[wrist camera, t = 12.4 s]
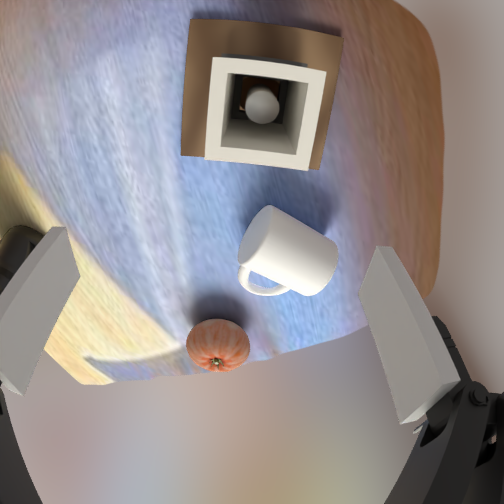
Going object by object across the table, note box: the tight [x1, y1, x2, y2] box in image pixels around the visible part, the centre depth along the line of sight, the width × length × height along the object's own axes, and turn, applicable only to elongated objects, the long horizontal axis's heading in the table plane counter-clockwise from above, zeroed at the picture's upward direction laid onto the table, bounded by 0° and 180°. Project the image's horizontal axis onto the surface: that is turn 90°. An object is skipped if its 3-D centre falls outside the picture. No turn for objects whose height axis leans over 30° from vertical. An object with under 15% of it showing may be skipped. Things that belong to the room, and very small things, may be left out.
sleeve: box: [204, 57, 326, 171], centre depth 21 cm, size 7×7×10 cm
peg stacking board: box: [181, 19, 344, 170], centre depth 24 cm, size 16×16×12 cm
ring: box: [221, 53, 308, 124], centre depth 26 cm, size 8×8×2 cm
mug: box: [238, 205, 338, 296], centre depth 38 cm, size 12×10×8 cm
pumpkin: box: [186, 319, 250, 372], centre depth 49 cm, size 11×11×8 cm
